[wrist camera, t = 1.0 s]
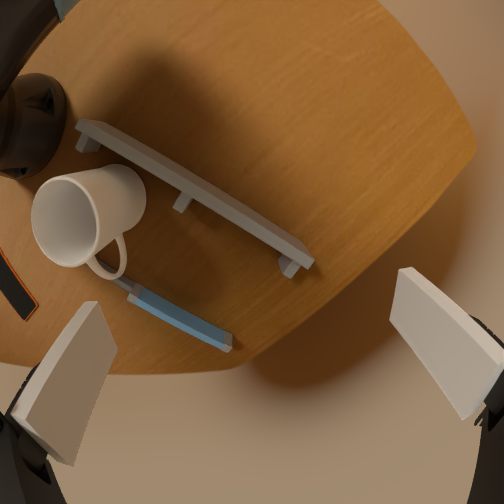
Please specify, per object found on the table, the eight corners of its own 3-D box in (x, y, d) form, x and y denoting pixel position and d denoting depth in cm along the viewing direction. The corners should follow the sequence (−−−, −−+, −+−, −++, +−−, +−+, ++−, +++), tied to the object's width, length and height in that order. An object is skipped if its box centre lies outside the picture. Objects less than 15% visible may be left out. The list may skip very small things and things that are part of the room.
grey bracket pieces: (57, 237, 31) (32, 252, 26) (104, 121, 27) (79, 117, 21) (228, 339, 38) (227, 368, 32) (302, 242, 33) (314, 260, 28)
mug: (164, 245, 33) (132, 292, 21) (108, 262, 33) (64, 308, 22) (135, 153, 29) (83, 156, 17) (79, 178, 29) (19, 195, 18)
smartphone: (26, 320, 36) (24, 323, 35) (-21, 251, 31) (-23, 252, 30) (40, 303, 35) (38, 305, 34) (-10, 227, 30) (-13, 228, 29)
